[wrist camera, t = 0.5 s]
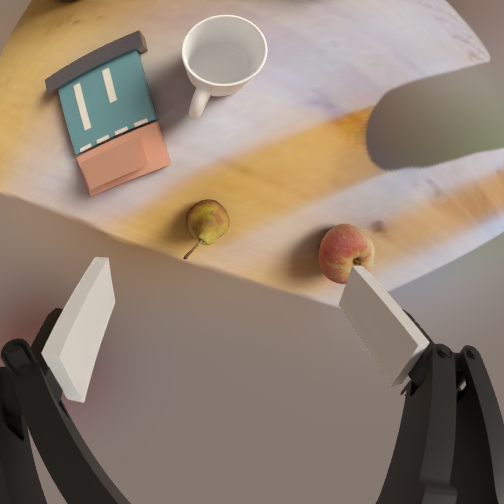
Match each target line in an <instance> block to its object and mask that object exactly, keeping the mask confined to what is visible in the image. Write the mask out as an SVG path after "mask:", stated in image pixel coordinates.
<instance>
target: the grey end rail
mask: <svg viewBox="0 0 504 504" xmlns="http://www.w3.org/2000/svg"><path fill="white" fill-rule="evenodd" d="M137 50H138V51H139V52H140V53H144V52H147V51H148V49H147V45H146V41H145V37H144V36H143V35H142V33H141V32H140V31H137V32H134V33H132V34H129V35H127V36H124V37H122V38H120V39H117V40H115V41H113V42H111V43H109V44H107V45H104V46H102V47H100V48H98V49H96V50H94V51H92V52H91V53H89V54H87V55H85V56H83V57H81V58H79V59H78V60H76V61H74V62H72V63H71V64H69V65H67V66H66V67H64V68H62V69H61V70H59V71H58V72H56V73H54V74H53V75H51V76H50V77H48V78H47V79H45V83H46V88H47V93H48V94H54V95H59V91H58V90H59V89H61V88H63V87H64V86H66V85H68V84H69V83H71V82H73V81H74V80H76V79H78V78H80V77H82V76H83V75H85V74H87V73H89V72H91V71H93V70H95V69H97V68H99V67H101V66H103V65H105V64H107V63H109V62H111V61H113V60H115V59H118V58H120V57H122V56H124V55H127V54H129V53H132V52H134V51H137Z"/></svg>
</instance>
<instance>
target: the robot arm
mask: <svg viewBox="0 0 504 504" xmlns="http://www.w3.org/2000/svg"><path fill="white" fill-rule="evenodd" d="M55 1H58V2H72V1H76V0H55ZM108 259H109V258H104V257H95V258H94V260H93V261H92V263H91V264H90V266H89V267H88V269H87V270H86V272H85V274H84V275H83V277H82V279H81V280H80V282H79V283H78V285H77V287H76V288H75V290H74V292H73V294H72V295H71V297H70V299H69V300H68V302H67V304H66V306H65V307H64V309H59V308H55V309H54V310H53V311H52V312H51V313H50V314H49V315H48V316H47V318H46V320H45V321H44V324H43V325H42V327H41V328H40V332H38V334H37V336H36V338H35V340H34V342H33V344H32V346H31V348H30V347H29V344H28V343H27V341H25V340H23V339H13V340H11V341H9V342H7V343H6V344H5V346H4V347H3V349H2V351H1V359H2V361H3V362H4V364H5V366H6V367H0V504H47V502H46V499H45V496H44V493H43V490H42V487H41V484H40V481H39V477H38V474H37V470H36V466H35V463H34V458H33V454H32V449H31V445H30V439H29V434H28V429H29V431H30V434H31V436H32V438H33V441H34V443H35V445H36V447H37V450H38V452H39V454H40V456H41V458H42V460H43V462H44V464H45V466H46V468H47V470H48V472H49V473H50V475H51V477H52V479H53V481H54V482H55V484H56V485H57V487H58V489H59V491H60V492H61V494H62V496H63V497H64V499H65V500H66V502H67V503H68V504H130V502H129V501H128V500H127V499H126V498H125V497H124V495H123V494H122V493H121V492H120V491H119V489H118V488H117V487H116V486H115V485H114V483H113V482H112V481H111V479H110V478H109V477H108V475H107V474H106V473H105V471H104V470H103V468H102V467H101V466H100V464H99V463H98V461H97V460H96V459H95V457H94V456H93V454H92V452H91V451H90V449H89V448H88V446H87V445H86V443H85V442H84V440H83V438H82V437H81V435H80V433H79V432H78V430H77V428H76V426H75V425H74V423H73V421H72V419H71V418H70V415H69V414H68V412H67V410H66V408H65V406H64V404H63V402H62V401H61V395H62V392H64V394H65V396H66V397H67V398H68V399H69V400H74V401H79V402H84V401H85V397H86V393H87V389H88V385H89V381H90V378H91V374H92V371H93V367H94V364H95V360H96V357H97V353H98V351H99V347H100V344H101V341H102V338H103V335H104V332H105V329H106V327H107V324H108V321H109V318H110V315H111V313H112V310H113V307H114V304H115V298H114V291H113V285H112V279H111V273H110V266H109V260H108ZM339 305H340V307H341V308H342V310H343V311H344V313H345V314H346V316H347V318H348V319H349V321H350V322H351V323H352V325H353V327H354V328H355V330H356V332H357V333H358V335H359V336H360V338H361V339H362V341H363V343H364V344H365V346H366V347H367V349H368V350H369V352H370V354H371V355H372V357H373V359H374V360H375V362H376V363H377V365H378V367H379V368H380V370H381V372H382V373H383V375H384V377H385V378H386V380H387V382H388V383H389V385H390V386H394V385H398V384H401V383H402V382H403V381H404V380H405V378H406V377H407V375H409V377H410V378H411V380H410V381H409V382H408V384H407V385H406V386H405V388H404V389H403V390H402V392H401V395H402V394H403V393H404V392H405V391H406V390H407V392H406V395H405V396H406V398H405V404H404V409H403V414H402V420H401V424H400V429H399V433H398V437H397V441H396V445H395V449H394V453H393V456H392V459H391V463H390V466H389V470H388V473H387V476H386V479H385V482H384V485H383V488H382V491H381V493H380V496H379V498H378V500H377V502H376V504H504V424H503V420H502V416H501V412H500V409H499V405H498V402H497V399H496V396H495V393H494V390H493V387H492V384H491V381H490V378H489V376H488V373H487V370H486V368H485V365H484V363H483V360H482V358H481V355H480V354H479V352H478V351H477V350H476V348H474V347H472V346H468V345H466V346H464V347H463V349H462V350H461V352H460V353H453V352H452V351H451V349H450V348H448V347H447V346H445V345H443V344H434V342H433V341H432V340H431V339H430V337H429V336H428V335H427V334H426V333H425V331H424V330H423V329H422V328H421V327H420V325H419V324H418V323H417V322H415V320H414V319H413V317H412V316H411V315H410V314H409V313H407V312H406V311H405V310H403V309H401V308H400V306H398V304H397V303H396V302H395V301H394V300H393V299H392V297H390V295H389V294H388V293H387V292H386V291H385V290H384V288H383V287H382V286H381V285H380V284H379V283H378V282H377V281H376V280H375V279H374V277H373V276H372V275H371V274H370V273H369V272H368V271H367V270H366V269H365V268H364V267H363V266H352V267H351V270H350V274H349V277H348V280H347V283H346V286H345V289H344V291H343V294H342V297H341V300H340V303H339ZM464 382H466V386H465V388H464V389H463V390H461V388H460V386H461V385H462V384H463V383H464ZM27 426H28V429H27Z"/></svg>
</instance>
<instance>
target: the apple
mask: <svg viewBox="0 0 504 504" xmlns="http://www.w3.org/2000/svg"><path fill="white" fill-rule="evenodd" d="M373 259H374V247H373V244H372V242H371V240H370V238H369V237H368V235H367V234H366V233H365V232H364V231H362V230H361V229H359V228H358V227H356V226H353V225H350V224H340V225H337V226H334V227H333V228H331V229H330V230H329V231H328V232H327V233H326V234H325V236H324V237H323V239H322V241H321V244H320V249H319V253H318V261H319V266H320V269H321V271H322V272H323V274H324V275H325V276H326V277H327V278H328V279H330V280H331V281H333V282H336V283H340V284H346V283H347V280H348V277H349V274H350V270H351V267H352V266H363V267H364V268H365V269H366V270H367V271H369V270H370V268H371V265H372V263H373Z"/></svg>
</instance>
